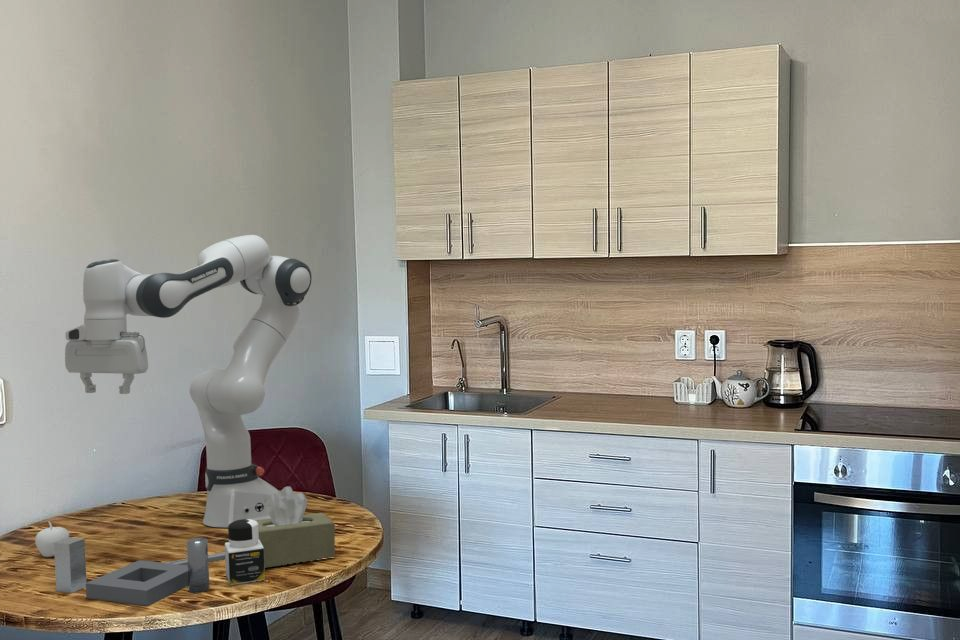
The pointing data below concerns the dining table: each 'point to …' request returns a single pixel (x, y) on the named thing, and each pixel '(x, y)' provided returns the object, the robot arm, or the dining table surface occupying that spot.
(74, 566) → the square bit
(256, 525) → the medicine bottle
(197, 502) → the dining table surface
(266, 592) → the dining table surface
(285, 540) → the tissue box
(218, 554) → the adjustable wrench
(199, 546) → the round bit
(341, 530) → the dining table surface
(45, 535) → the plain white apple
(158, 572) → the socket block
